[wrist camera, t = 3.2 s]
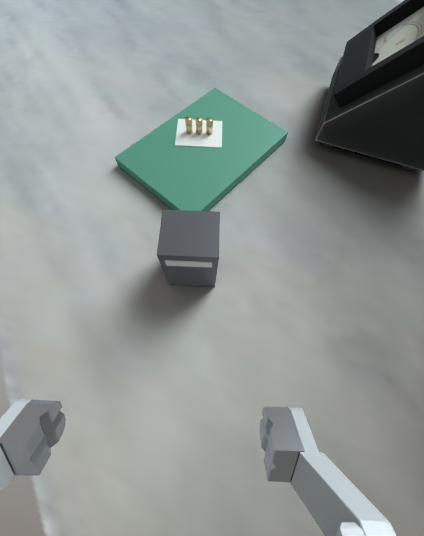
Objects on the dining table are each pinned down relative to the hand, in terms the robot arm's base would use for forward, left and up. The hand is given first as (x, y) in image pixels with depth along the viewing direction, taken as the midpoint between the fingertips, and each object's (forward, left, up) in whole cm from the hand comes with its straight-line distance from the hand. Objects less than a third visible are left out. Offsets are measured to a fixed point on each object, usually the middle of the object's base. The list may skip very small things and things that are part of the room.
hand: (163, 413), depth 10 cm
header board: (-23, -19, -14) cm, 33 cm away
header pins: (-24, -21, -13) cm, 34 cm away
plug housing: (-9, -8, -14) cm, 19 cm away
